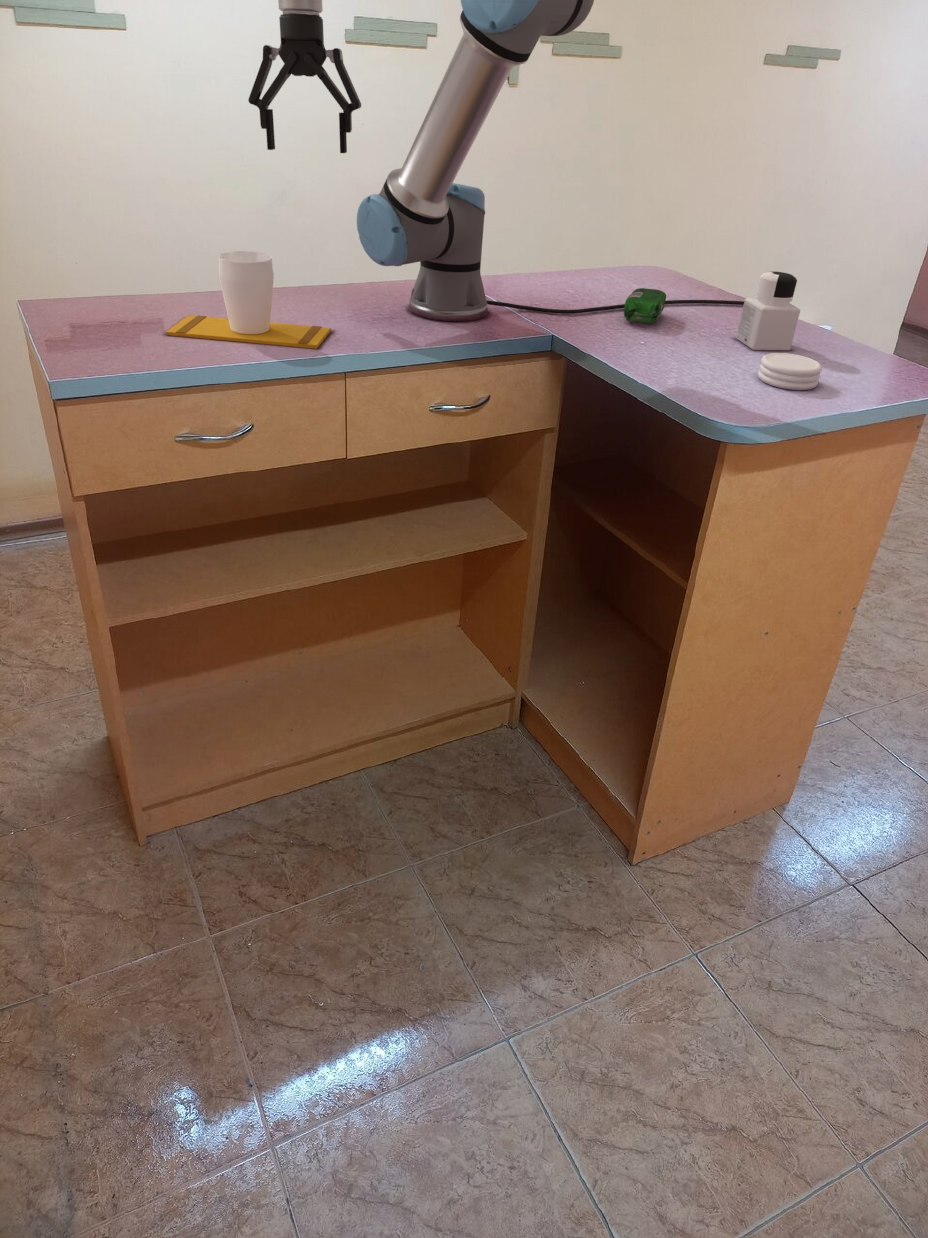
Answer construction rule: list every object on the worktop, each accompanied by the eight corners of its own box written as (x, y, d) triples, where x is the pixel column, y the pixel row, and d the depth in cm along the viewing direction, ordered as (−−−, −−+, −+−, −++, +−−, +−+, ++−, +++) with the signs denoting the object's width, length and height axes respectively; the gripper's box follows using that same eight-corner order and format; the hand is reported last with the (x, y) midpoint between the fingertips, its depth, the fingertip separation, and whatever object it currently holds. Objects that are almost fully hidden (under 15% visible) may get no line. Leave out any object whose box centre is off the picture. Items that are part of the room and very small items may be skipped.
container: (772, 339, 175) (789, 269, 168) (790, 350, 169) (809, 278, 162) (735, 338, 174) (751, 268, 166) (752, 350, 167) (769, 277, 160)
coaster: (814, 395, 147) (820, 374, 145) (753, 383, 150) (758, 363, 148) (819, 378, 155) (825, 358, 153) (761, 368, 158) (766, 348, 156)
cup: (270, 338, 153) (266, 264, 146) (217, 334, 152) (211, 260, 146) (280, 324, 160) (277, 253, 154) (230, 320, 160) (224, 249, 153)
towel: (330, 331, 161) (330, 327, 160) (316, 348, 151) (316, 344, 151) (188, 318, 162) (188, 314, 161) (166, 335, 153) (165, 330, 152)
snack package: (618, 326, 176) (622, 299, 173) (631, 307, 188) (636, 282, 185) (654, 332, 174) (659, 304, 171) (665, 313, 187) (670, 287, 184)
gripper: (375, 18, 159) (376, 152, 170) (236, 12, 160) (246, 146, 171) (368, 15, 152) (370, 155, 163) (224, 9, 153) (235, 148, 164)
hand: (307, 151), depth 167 cm, fingers open, 13 cm apart
